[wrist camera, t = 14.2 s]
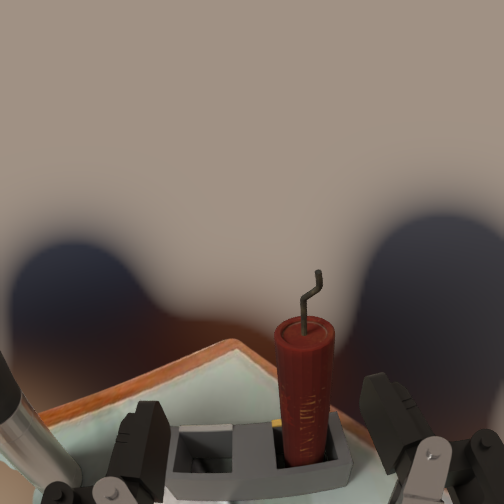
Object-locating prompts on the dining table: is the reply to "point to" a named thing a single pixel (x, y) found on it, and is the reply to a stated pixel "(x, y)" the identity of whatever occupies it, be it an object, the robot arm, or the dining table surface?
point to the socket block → (251, 463)
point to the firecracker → (305, 382)
